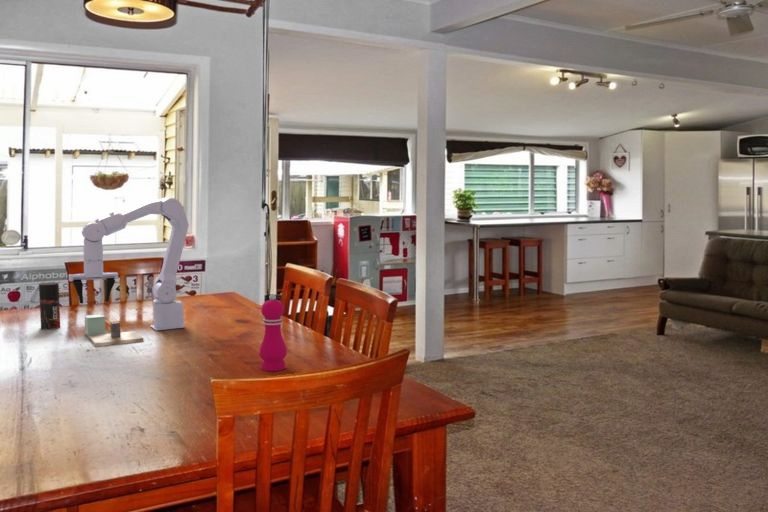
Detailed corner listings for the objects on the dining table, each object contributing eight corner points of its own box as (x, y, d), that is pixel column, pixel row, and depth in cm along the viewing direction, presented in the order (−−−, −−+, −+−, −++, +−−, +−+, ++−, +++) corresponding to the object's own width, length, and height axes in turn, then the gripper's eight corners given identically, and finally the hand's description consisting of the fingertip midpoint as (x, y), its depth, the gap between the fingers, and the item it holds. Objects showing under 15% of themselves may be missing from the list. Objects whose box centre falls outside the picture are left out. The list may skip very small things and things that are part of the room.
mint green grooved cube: (102, 331, 225) (101, 314, 224) (105, 334, 220) (104, 316, 220) (85, 333, 222) (84, 315, 221) (88, 336, 217) (87, 318, 217)
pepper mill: (272, 363, 186) (272, 291, 184) (292, 367, 182) (292, 293, 180) (253, 369, 180) (252, 294, 178) (273, 373, 176) (272, 297, 174)
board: (134, 334, 222) (134, 317, 221) (143, 341, 212) (142, 323, 211) (88, 338, 214) (87, 321, 214) (95, 346, 204) (94, 328, 204)
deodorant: (52, 329, 228) (50, 285, 226) (36, 328, 229) (34, 284, 227) (64, 326, 233) (62, 282, 232) (48, 325, 235) (46, 282, 233)
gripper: (114, 258, 226) (115, 298, 227) (66, 259, 218) (67, 301, 219) (119, 260, 220) (119, 301, 221) (70, 261, 212) (71, 305, 213)
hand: (94, 302), depth 220 cm, fingers open, 7 cm apart
